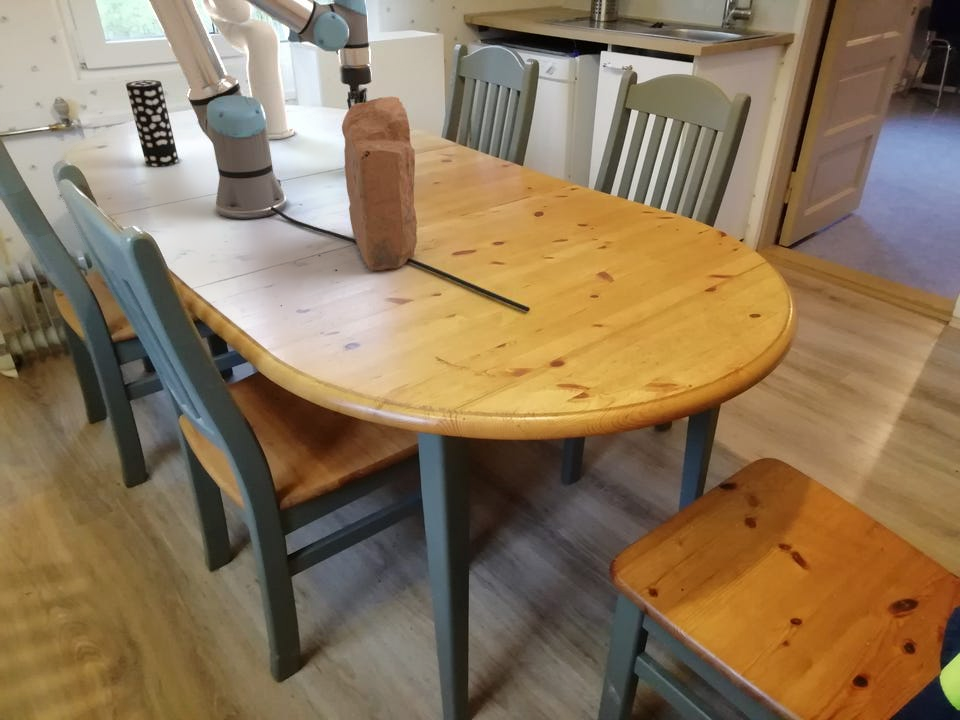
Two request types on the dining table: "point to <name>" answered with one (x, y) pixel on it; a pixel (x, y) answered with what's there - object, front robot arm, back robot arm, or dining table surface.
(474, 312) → the dining table surface
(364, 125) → the stone
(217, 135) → the front robot arm
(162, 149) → the polka dot cylinder
